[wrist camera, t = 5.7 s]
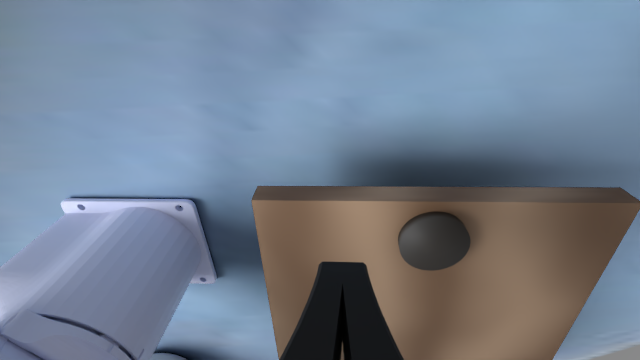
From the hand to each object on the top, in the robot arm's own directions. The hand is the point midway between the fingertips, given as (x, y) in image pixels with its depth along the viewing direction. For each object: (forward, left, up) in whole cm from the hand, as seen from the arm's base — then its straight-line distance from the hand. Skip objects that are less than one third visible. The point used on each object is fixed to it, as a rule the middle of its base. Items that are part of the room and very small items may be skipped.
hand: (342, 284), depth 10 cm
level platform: (+4, -10, -5) cm, 12 cm away
